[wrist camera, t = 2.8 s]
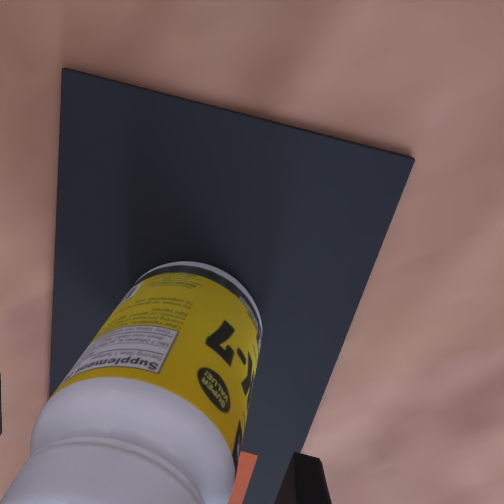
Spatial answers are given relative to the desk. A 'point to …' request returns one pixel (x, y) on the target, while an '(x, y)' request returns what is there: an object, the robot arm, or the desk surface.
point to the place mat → (220, 238)
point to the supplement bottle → (152, 398)
